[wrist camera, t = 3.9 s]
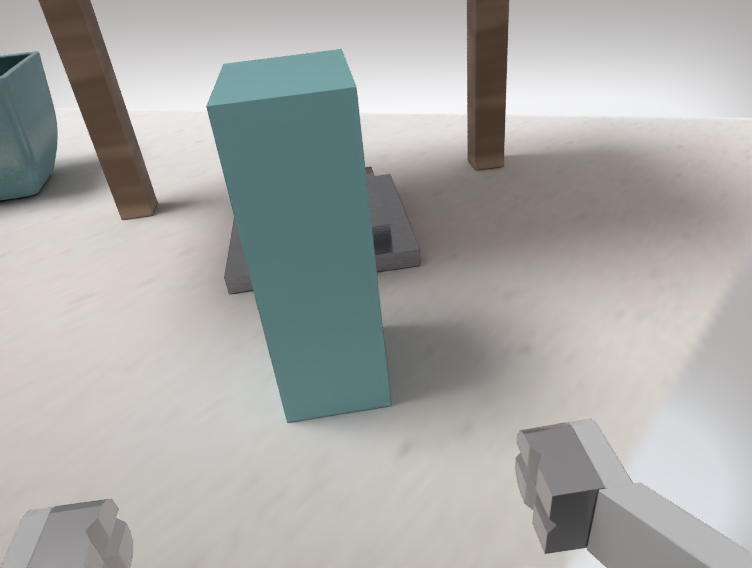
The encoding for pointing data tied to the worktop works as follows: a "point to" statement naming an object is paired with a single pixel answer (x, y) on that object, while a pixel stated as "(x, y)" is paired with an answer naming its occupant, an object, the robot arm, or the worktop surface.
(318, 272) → the teal box
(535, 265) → the worktop surface
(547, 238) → the worktop surface
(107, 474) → the worktop surface
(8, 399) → the worktop surface
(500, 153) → the overhang shelf
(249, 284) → the seat cradle
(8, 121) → the flower pot
